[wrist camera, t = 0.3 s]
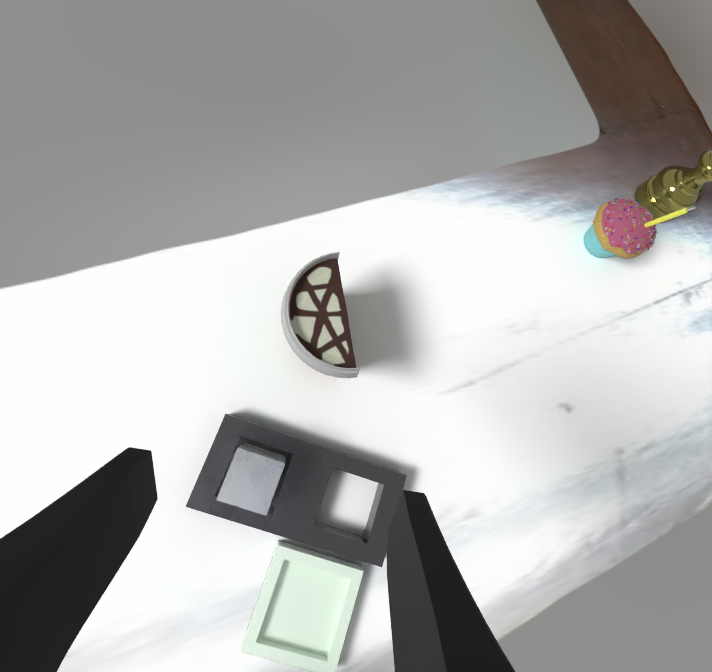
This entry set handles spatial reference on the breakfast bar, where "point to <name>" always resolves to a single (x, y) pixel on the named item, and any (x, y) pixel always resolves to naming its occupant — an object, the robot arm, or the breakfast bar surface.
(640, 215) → the cupcake
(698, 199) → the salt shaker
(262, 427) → the dark grey rectangular frame
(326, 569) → the parts tray
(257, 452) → the grey rectangular block
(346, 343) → the food container
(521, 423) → the breakfast bar surface
